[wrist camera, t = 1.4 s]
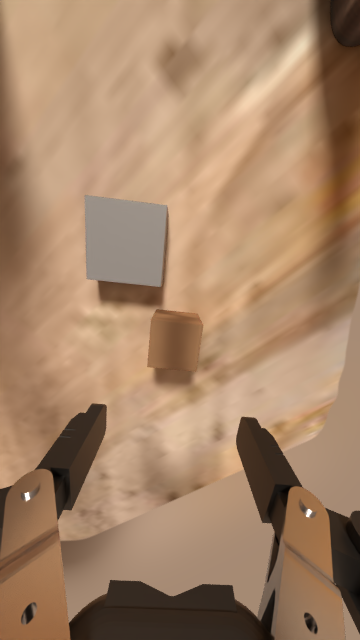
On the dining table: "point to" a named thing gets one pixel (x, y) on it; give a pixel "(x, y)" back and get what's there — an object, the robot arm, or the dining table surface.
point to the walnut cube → (174, 340)
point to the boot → (346, 21)
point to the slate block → (125, 240)
